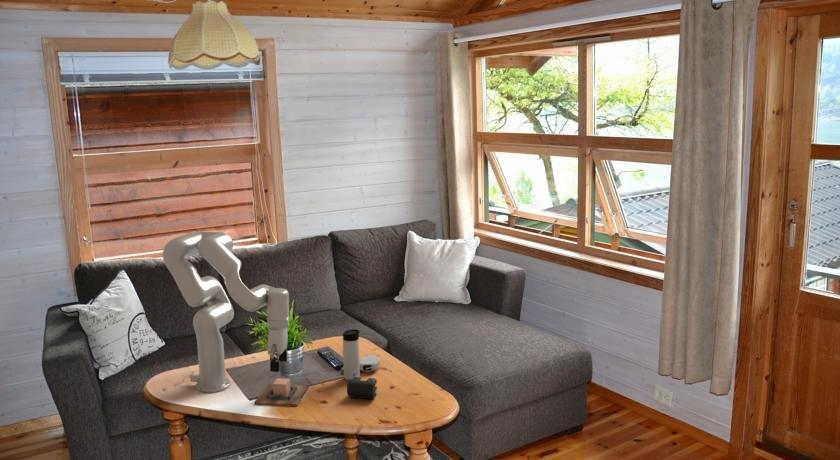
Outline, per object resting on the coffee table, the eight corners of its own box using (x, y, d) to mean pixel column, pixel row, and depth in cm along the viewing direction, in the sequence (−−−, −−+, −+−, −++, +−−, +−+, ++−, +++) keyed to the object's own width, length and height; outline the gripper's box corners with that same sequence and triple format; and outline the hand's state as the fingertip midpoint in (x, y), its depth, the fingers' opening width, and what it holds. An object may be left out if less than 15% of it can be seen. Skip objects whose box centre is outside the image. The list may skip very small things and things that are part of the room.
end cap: (346, 400, 253) (346, 382, 252) (352, 392, 260) (351, 375, 259) (373, 402, 251) (372, 384, 250) (377, 394, 258) (377, 377, 257)
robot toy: (340, 376, 276) (377, 375, 275) (339, 366, 276) (376, 364, 274) (346, 364, 288) (382, 363, 287) (345, 354, 288) (381, 353, 286)
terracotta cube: (273, 396, 254) (272, 383, 253) (277, 390, 259) (276, 378, 258) (286, 397, 254) (285, 384, 253) (290, 391, 259) (289, 378, 258)
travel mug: (358, 382, 268) (357, 333, 264) (341, 381, 270) (340, 332, 266) (362, 376, 274) (361, 328, 270) (346, 374, 276) (345, 327, 272)
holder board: (254, 404, 250) (253, 399, 249) (268, 386, 265) (267, 381, 265) (297, 406, 248) (297, 401, 248) (308, 387, 264) (308, 382, 263)
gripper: (275, 313, 260) (275, 356, 263) (260, 329, 243) (261, 375, 246) (294, 315, 259) (295, 357, 263) (281, 331, 242) (281, 376, 246)
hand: (278, 366), depth 255 cm, fingers open, 9 cm apart
